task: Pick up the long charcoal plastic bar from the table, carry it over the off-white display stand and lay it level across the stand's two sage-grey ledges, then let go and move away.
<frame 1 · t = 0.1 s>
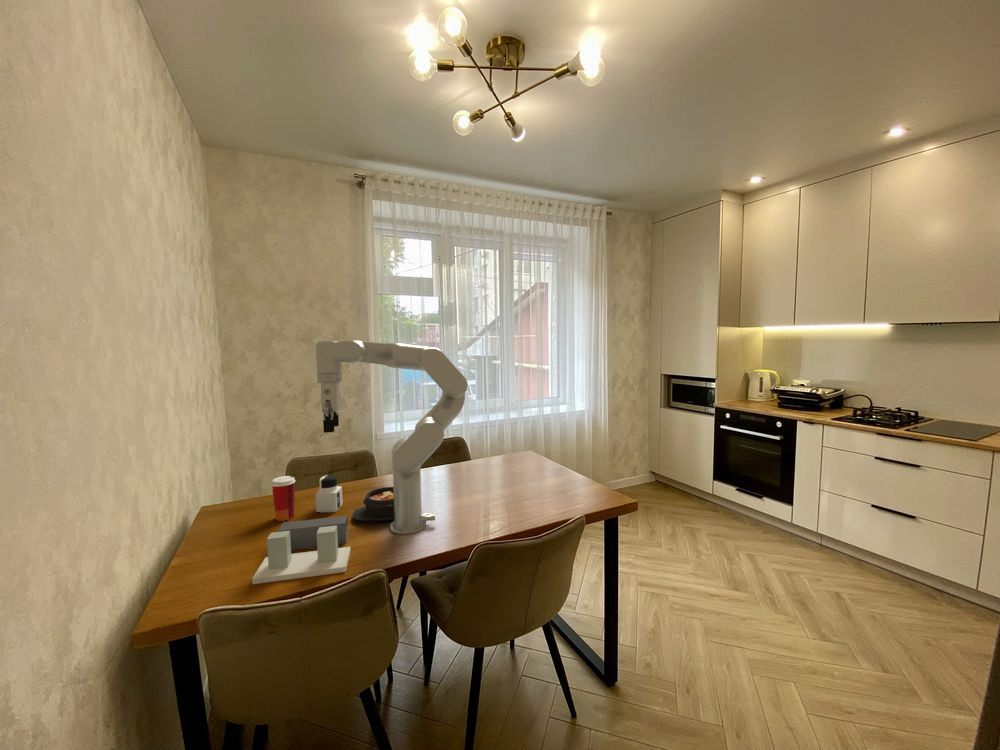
hand: (331, 429, 137), 37 cm above the table, tool pointing down, fingers open, 9 cm apart
bar: (315, 543, 135), on the table
stand: (304, 566, 120), on the table
casserole: (387, 515, 157), on the table
container: (329, 509, 163), on the table
coffee cup: (285, 518, 155), on the table
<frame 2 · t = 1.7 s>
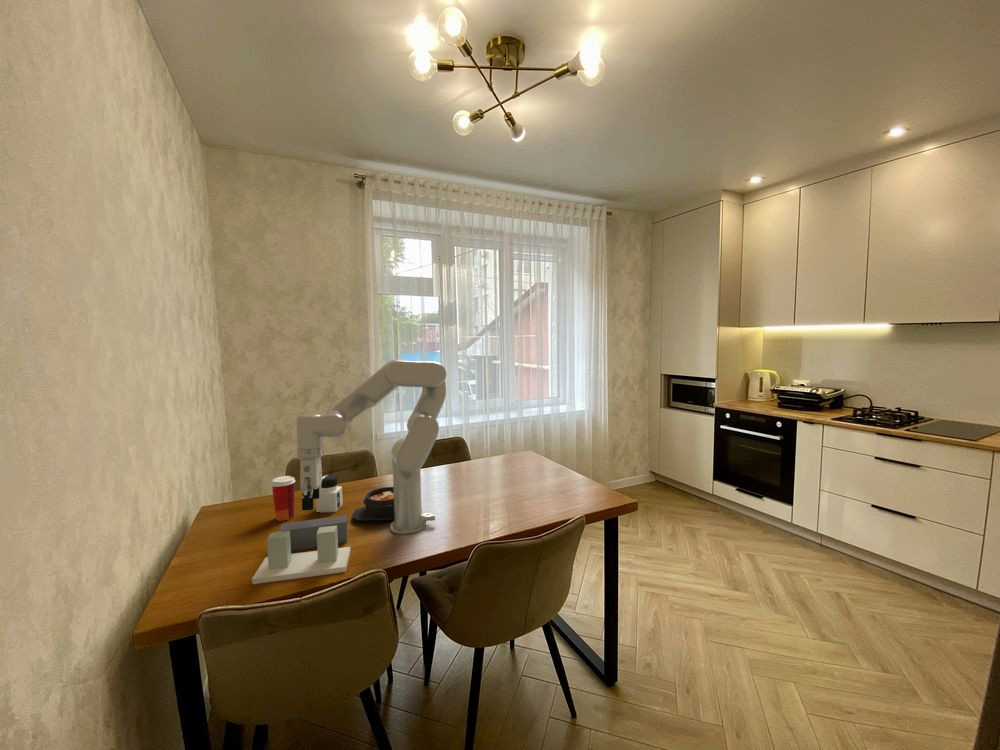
hand: (311, 504, 134), 13 cm above the table, tool pointing down, fingers open, 9 cm apart
nothing on the table moved.
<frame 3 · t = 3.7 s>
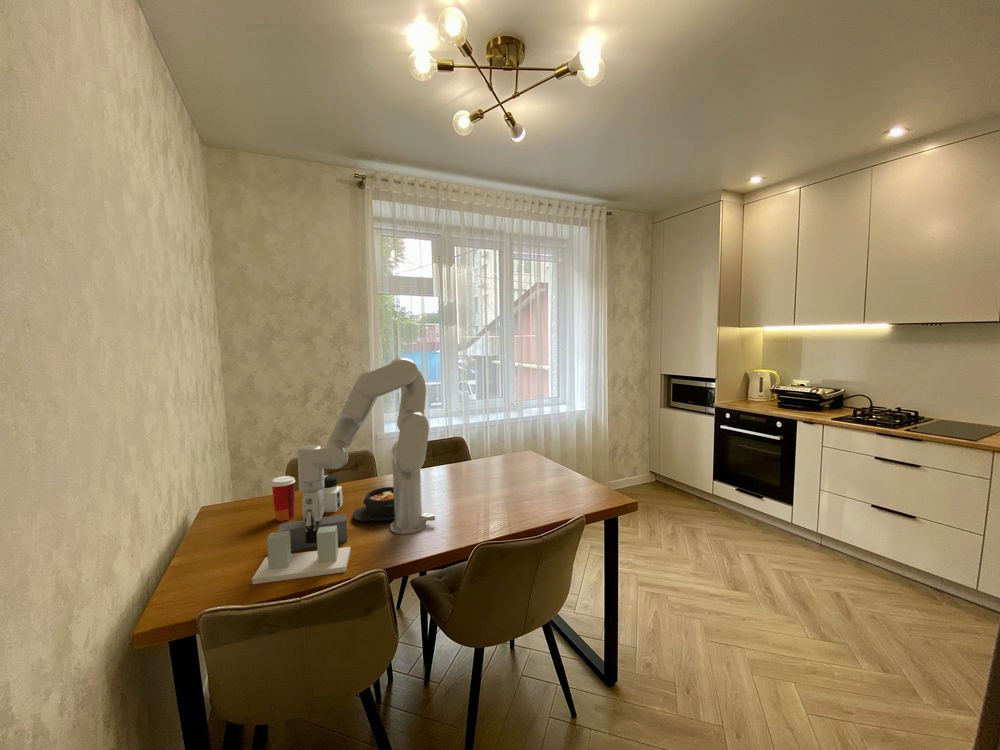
hand: (314, 536, 135), 2 cm above the table, tool pointing down, fingers closed on bar, 6 cm apart
bar: (314, 543, 135), on the table, touching gripper
everything else where it was.
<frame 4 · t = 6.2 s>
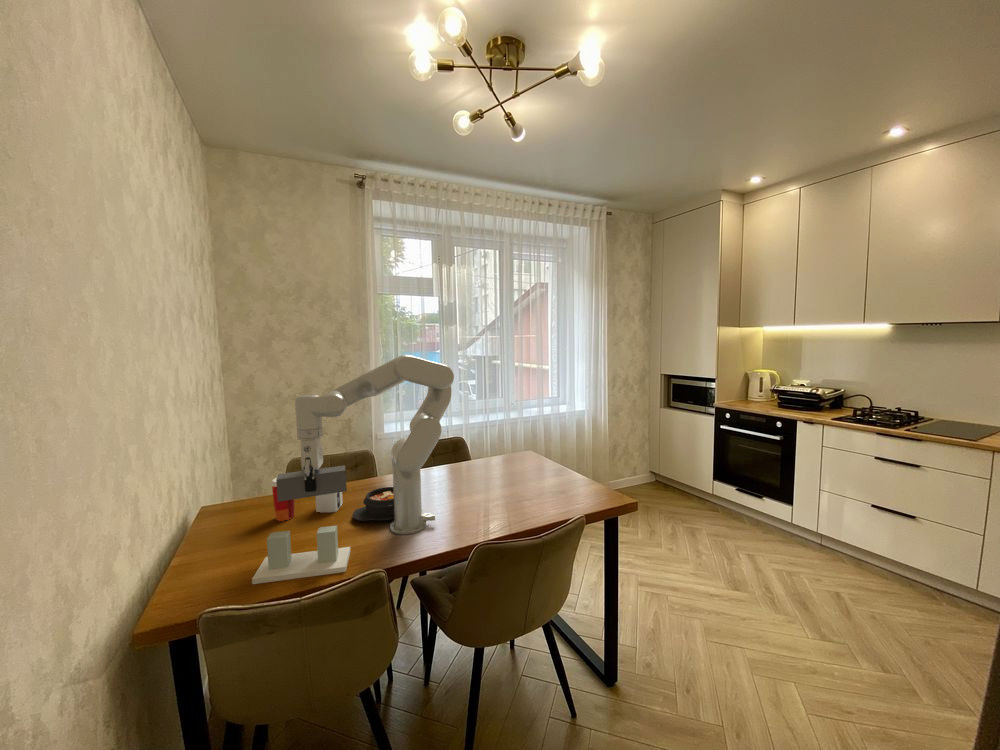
hand: (313, 487, 134), 19 cm above the table, tool pointing down, fingers closed on bar, 6 cm apart
bar: (313, 493, 134), point 17 cm above the table, touching gripper
everything else where it was.
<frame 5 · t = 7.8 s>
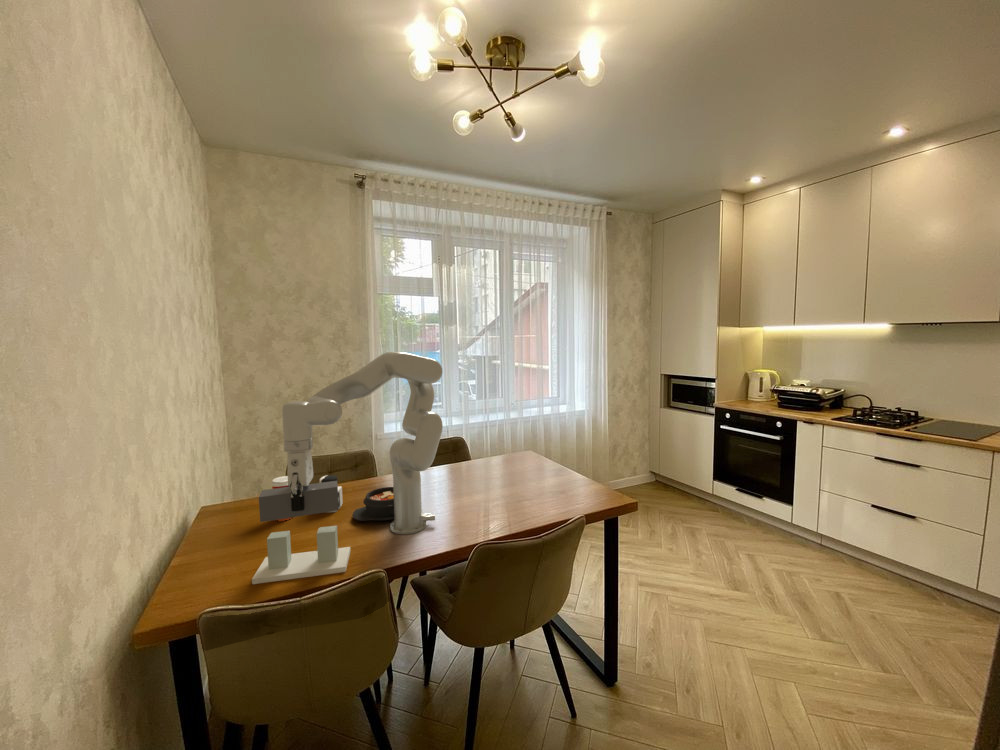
hand: (301, 505, 119), 19 cm above the table, tool pointing down, fingers closed on bar, 6 cm apart
bar: (301, 512, 119), point 17 cm above the table, touching gripper
everything else where it was.
when the fingers open (14 cm above the table, at t = 9.0 s): bar drops 1 cm, resting on stand.
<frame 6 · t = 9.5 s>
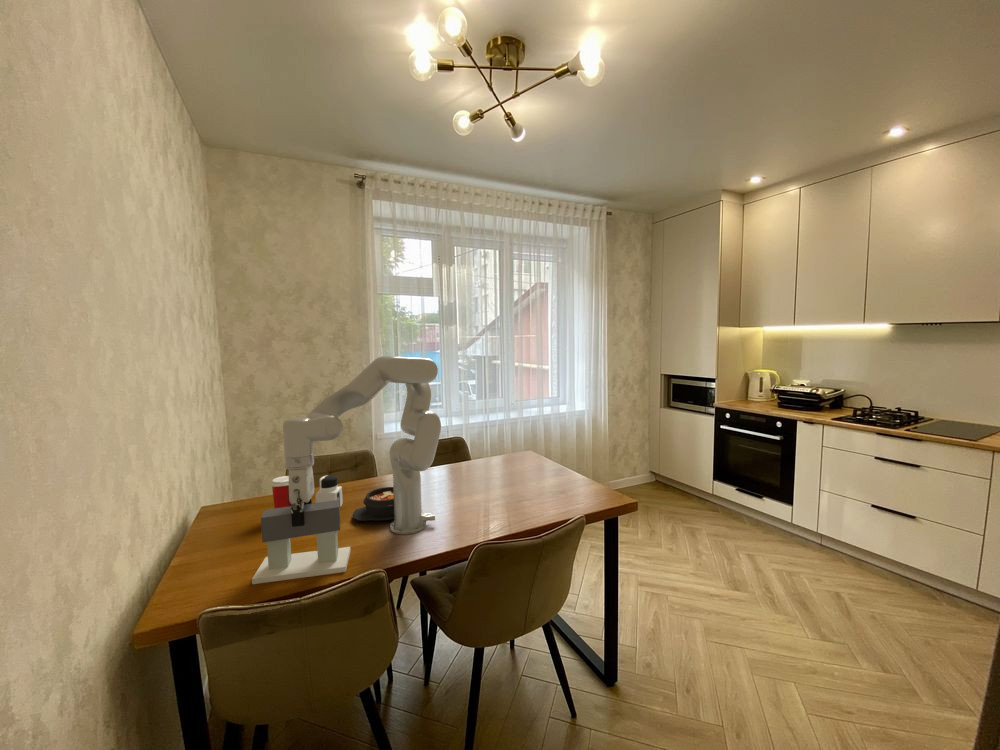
hand: (302, 518, 119), 14 cm above the table, tool pointing down, fingers open, 9 cm apart
bar: (303, 531, 120), point 10 cm above the table, touching stand
everything else where it was.
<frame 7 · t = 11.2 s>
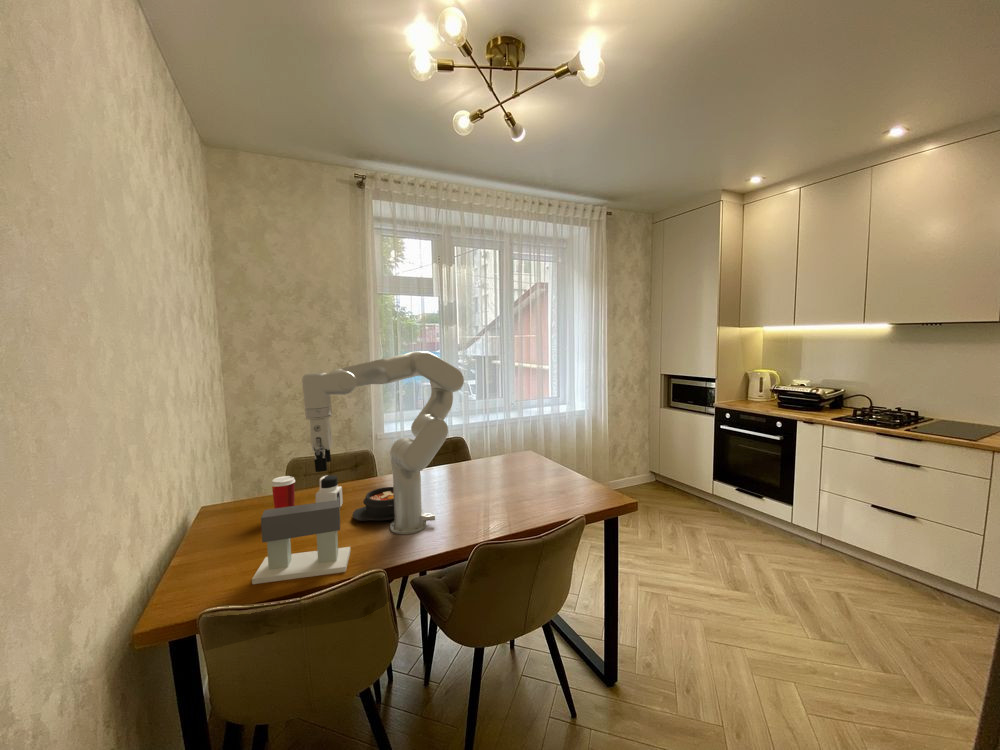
hand: (323, 466, 129), 27 cm above the table, tool pointing down, fingers open, 9 cm apart
nothing on the table moved.
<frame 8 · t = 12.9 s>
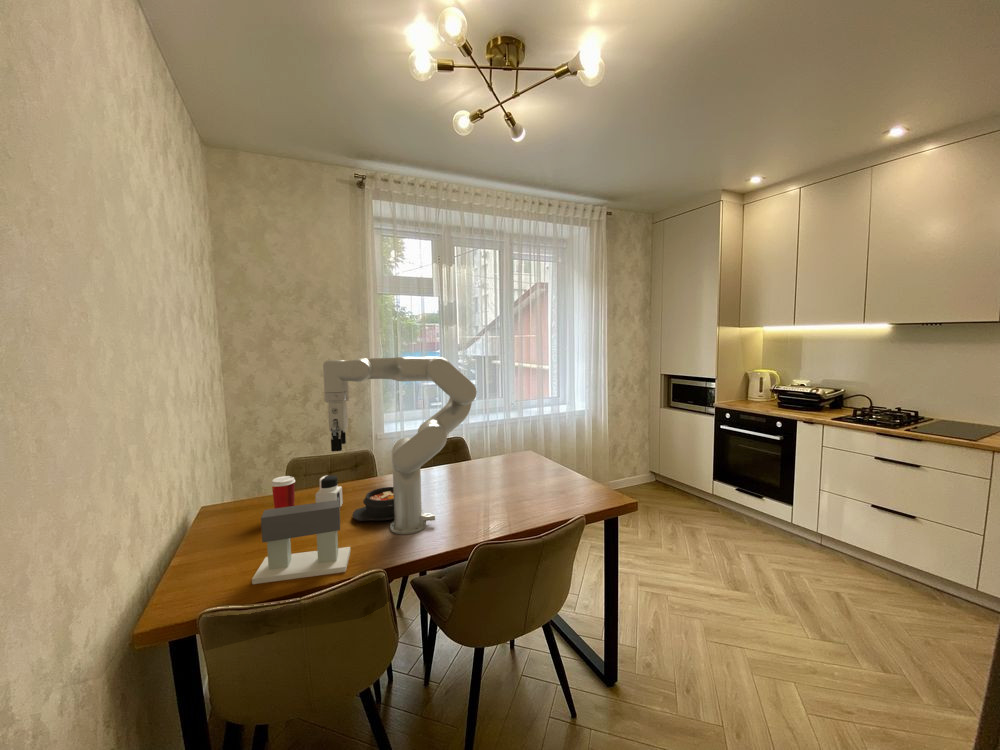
hand: (338, 447, 138), 30 cm above the table, tool pointing down, fingers open, 9 cm apart
nothing on the table moved.
at the end: bar 0.1 cm off-centre on the stand, point 10.5 cm above the stand's base; bar tilted 0°; the gripper is holding nothing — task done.
